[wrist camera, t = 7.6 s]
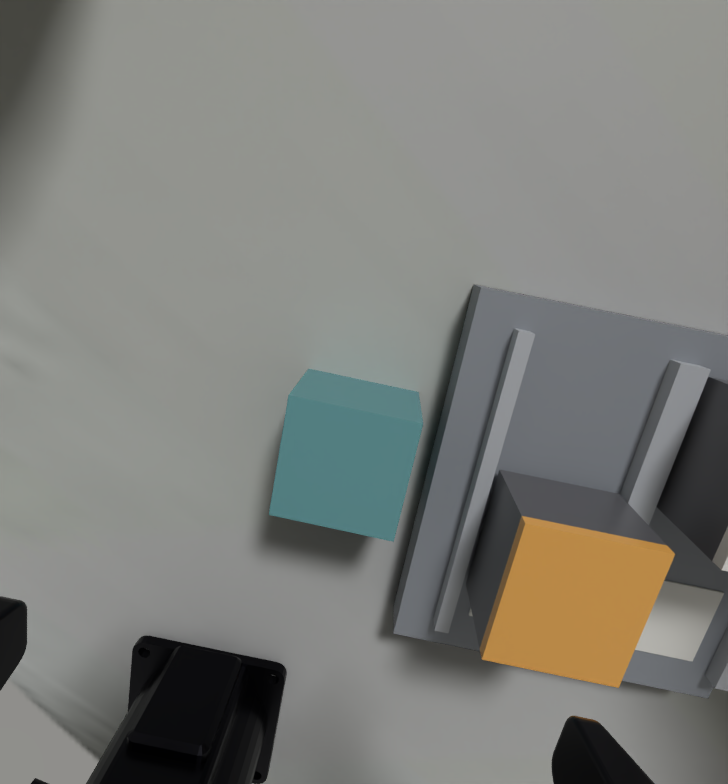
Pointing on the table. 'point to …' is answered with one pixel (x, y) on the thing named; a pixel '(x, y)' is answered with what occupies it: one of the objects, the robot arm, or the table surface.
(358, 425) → the teal cube
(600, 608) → the block
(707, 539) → the block
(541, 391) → the breaker panel
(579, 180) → the table surface
